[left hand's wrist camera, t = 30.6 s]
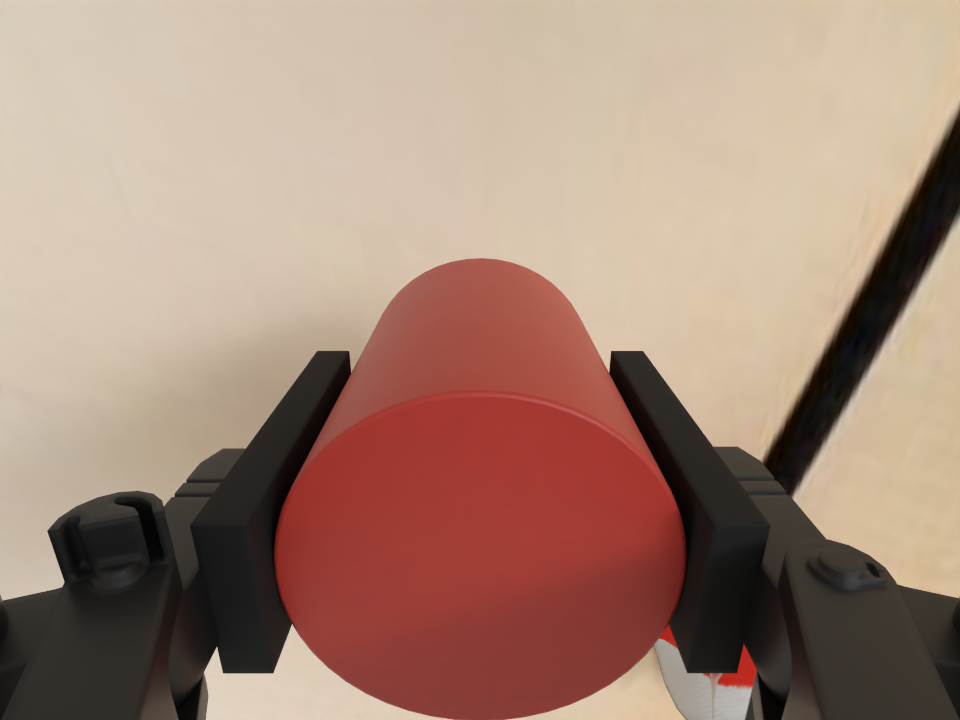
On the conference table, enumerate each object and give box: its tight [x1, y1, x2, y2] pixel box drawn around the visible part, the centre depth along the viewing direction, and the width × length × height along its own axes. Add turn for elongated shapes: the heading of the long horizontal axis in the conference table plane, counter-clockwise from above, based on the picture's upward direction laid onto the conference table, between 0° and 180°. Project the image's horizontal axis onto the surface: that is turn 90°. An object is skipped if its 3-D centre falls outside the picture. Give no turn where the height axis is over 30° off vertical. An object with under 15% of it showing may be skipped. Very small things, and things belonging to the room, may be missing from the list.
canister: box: [274, 258, 687, 720], centre depth 13 cm, size 6×6×8 cm
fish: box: [654, 624, 757, 720], centre depth 28 cm, size 11×16×10 cm
